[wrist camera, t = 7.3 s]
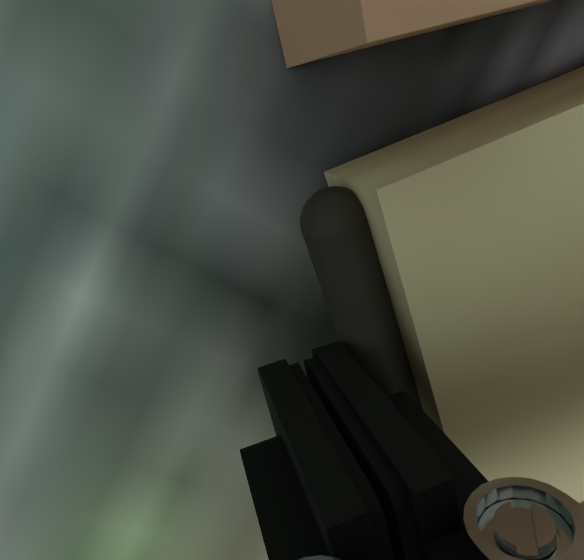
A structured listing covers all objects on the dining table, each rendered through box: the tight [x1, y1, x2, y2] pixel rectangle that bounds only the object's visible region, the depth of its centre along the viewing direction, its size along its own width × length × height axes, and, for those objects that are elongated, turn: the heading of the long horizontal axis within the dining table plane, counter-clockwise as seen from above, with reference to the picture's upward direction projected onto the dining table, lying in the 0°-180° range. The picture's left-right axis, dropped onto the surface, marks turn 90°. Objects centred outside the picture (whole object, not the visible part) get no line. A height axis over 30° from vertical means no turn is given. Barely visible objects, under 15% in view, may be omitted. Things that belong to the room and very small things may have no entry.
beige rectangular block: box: [300, 66, 584, 503], centre depth 11 cm, size 8×11×4 cm
